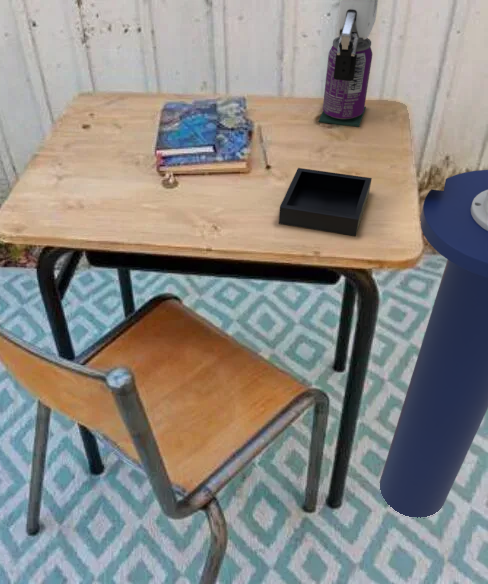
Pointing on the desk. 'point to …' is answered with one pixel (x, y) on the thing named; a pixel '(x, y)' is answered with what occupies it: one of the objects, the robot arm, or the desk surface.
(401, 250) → the desk surface
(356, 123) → the rubber mat
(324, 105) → the beverage can
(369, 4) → the robot arm
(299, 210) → the black square tray
